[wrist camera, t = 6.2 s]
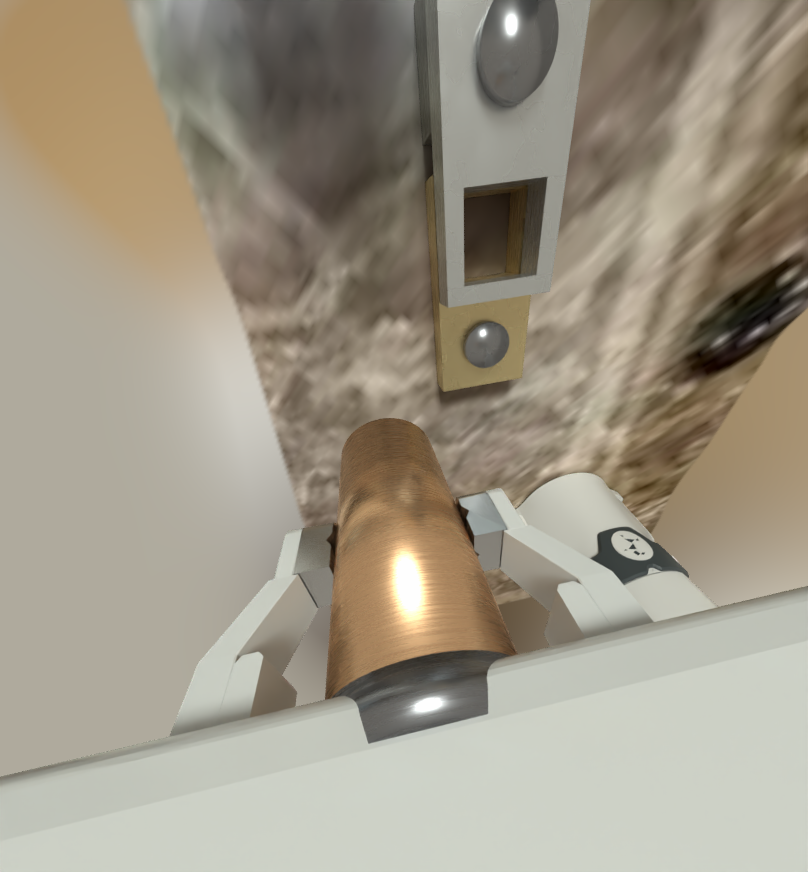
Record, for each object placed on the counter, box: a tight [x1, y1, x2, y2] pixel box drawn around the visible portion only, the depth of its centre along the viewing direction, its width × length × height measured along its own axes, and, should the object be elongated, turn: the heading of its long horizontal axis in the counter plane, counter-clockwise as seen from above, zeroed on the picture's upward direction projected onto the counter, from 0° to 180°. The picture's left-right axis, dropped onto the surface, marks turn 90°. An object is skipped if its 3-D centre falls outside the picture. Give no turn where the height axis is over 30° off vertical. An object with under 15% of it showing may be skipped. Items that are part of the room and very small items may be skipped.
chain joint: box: [414, 0, 591, 392], centre depth 21 cm, size 24×8×6 cm, turn 7°
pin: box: [325, 418, 517, 744], centre depth 9 cm, size 4×4×9 cm
